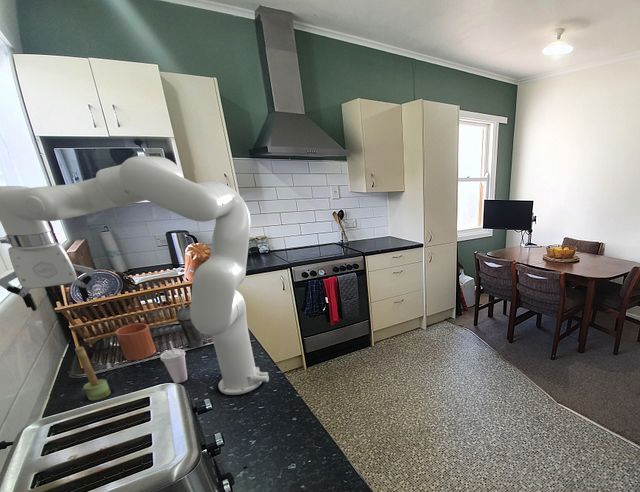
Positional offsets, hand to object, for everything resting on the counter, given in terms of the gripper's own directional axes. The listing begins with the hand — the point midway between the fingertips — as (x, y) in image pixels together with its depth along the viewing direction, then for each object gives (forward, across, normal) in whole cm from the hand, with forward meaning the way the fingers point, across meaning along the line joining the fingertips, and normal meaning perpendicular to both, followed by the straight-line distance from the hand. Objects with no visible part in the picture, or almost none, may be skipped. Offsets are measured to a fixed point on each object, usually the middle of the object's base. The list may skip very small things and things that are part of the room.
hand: (61, 304), depth 92 cm
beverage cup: (+29, +29, +14) cm, 43 cm away
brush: (+28, 0, -2) cm, 28 cm away
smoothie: (+29, +19, -8) cm, 35 cm away
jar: (+28, +13, +19) cm, 37 cm away
